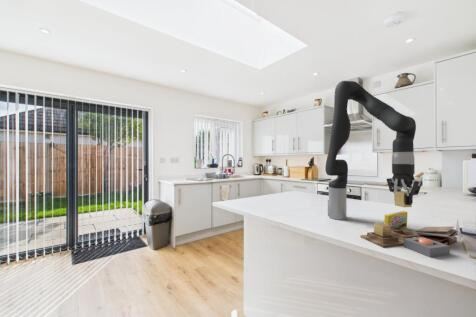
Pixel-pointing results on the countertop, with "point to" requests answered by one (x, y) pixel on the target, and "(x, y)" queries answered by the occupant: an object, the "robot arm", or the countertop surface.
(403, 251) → the countertop surface
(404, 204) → the block
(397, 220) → the candy box
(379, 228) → the block
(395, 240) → the pallet
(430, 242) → the button
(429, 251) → the button housing
